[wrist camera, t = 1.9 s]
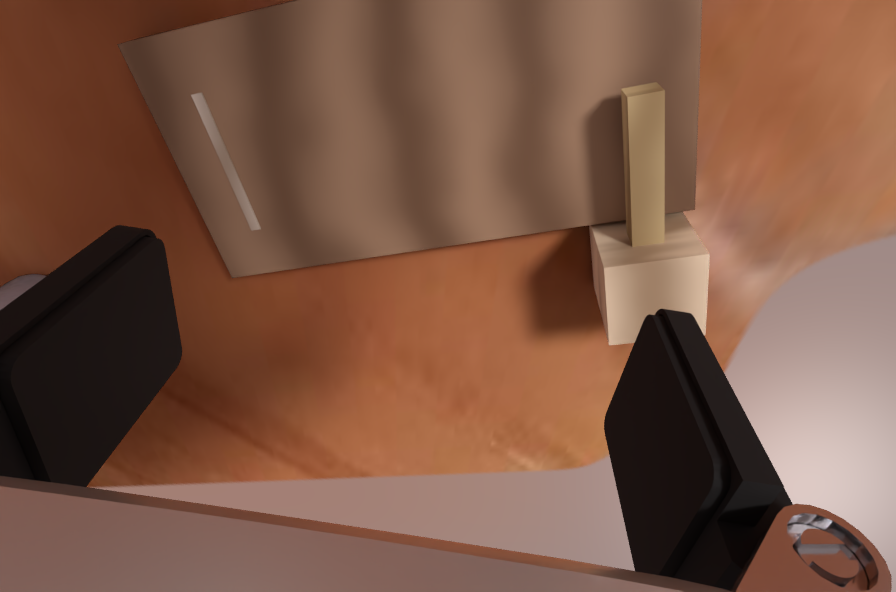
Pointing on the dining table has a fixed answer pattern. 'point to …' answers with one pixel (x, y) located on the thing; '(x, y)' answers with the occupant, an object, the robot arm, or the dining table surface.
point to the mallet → (646, 233)
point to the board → (414, 120)
